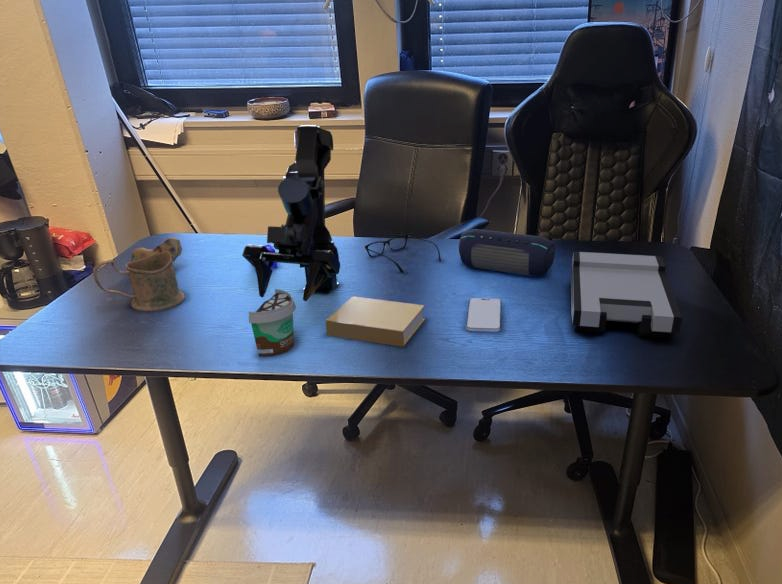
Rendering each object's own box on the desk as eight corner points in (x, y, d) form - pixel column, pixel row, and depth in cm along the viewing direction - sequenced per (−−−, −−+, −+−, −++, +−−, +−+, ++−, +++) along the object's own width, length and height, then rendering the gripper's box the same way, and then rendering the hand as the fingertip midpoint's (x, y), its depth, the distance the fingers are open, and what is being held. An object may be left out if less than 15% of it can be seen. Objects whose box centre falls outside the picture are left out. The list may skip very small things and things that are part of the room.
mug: (95, 309, 142) (80, 258, 136) (170, 287, 153) (159, 239, 148) (117, 324, 135) (102, 272, 129) (194, 300, 147) (183, 251, 141)
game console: (570, 341, 129) (574, 304, 125) (570, 283, 156) (573, 251, 152) (675, 349, 126) (683, 311, 122) (656, 288, 153) (662, 256, 149)
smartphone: (465, 327, 132) (469, 297, 145) (465, 332, 133) (469, 302, 146) (500, 329, 132) (501, 298, 145) (500, 333, 132) (501, 303, 145)
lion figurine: (188, 267, 166) (181, 234, 161) (185, 274, 161) (178, 240, 157) (128, 271, 163) (119, 237, 158) (123, 278, 158) (114, 244, 154)
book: (326, 335, 131) (325, 320, 129) (353, 310, 142) (352, 296, 140) (403, 347, 126) (402, 331, 125) (424, 319, 137) (424, 305, 136)
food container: (284, 363, 120) (278, 316, 116) (255, 360, 122) (247, 313, 117) (309, 335, 131) (304, 290, 126) (282, 332, 132) (276, 288, 127)
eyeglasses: (408, 245, 181) (408, 232, 179) (445, 259, 171) (445, 245, 169) (362, 259, 171) (361, 245, 169) (398, 274, 161) (397, 260, 159)
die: (258, 271, 163) (255, 252, 161) (253, 265, 167) (250, 247, 164) (277, 267, 165) (275, 249, 163) (272, 262, 169) (269, 244, 167)
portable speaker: (452, 270, 164) (452, 233, 159) (465, 258, 172) (466, 222, 167) (546, 284, 156) (550, 245, 151) (556, 270, 164) (559, 233, 159)
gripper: (239, 204, 122) (219, 278, 118) (329, 210, 118) (312, 286, 114) (263, 232, 132) (246, 300, 128) (347, 237, 129) (332, 308, 125)
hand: (282, 298), depth 124 cm, fingers open, 9 cm apart
